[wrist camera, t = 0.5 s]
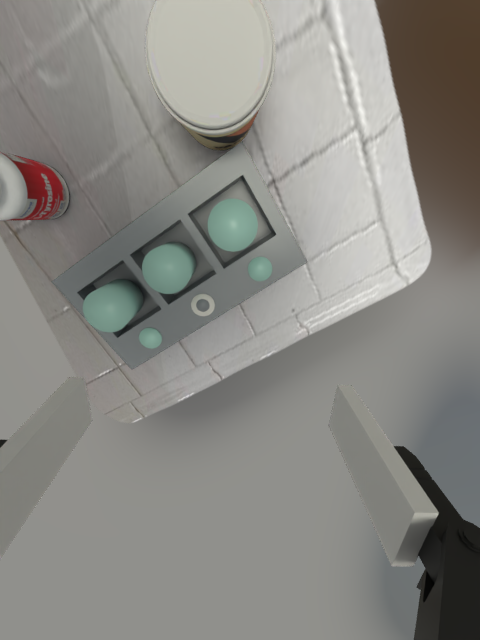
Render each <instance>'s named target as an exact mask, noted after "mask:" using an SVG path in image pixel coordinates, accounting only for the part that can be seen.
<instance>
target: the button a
mask: <svg viewBox="0 0 480 640" xmlns="http://www.w3.org/2000/svg"><path fill="white" fill-rule="evenodd" d="M142 306H143V294H142V292H141V290H140V289H139V287H138V286H137V285H136V284H134V283H133V282H131V281H129V280H126V279H116V280H113V281H111V282H109V283H107V284H106V285H104V286H102V287H100V288H98V289H97V290H95V291H93V292H91V293H90V294H89V295H87V297H86V298H85V300H84V302H83V313H84V316H85V318H86V320H87V321H88V322H89V323H90V324H91V325H92V326H93V327H94V328H96V329H98V330H100V331H103V332H116V331H119V330H121V329H122V328H123V327H124V326H125V325H126V324H127V323H128V322H129V321H130V320H131V319H132V318H133V317H134V316H135V315H136V314H137V313H138V312H139V311H140V310H141V308H142Z"/></svg>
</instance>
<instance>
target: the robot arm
mask: <svg viewBox="0 0 480 640" xmlns="http://www.w3.org/2000/svg"><path fill="white" fill-rule="evenodd" d="M91 422H92V415H91V411H90V404H89V399H88V393H87V388H86V382H85V378H78V377H69V378H68V379H67V380H66V381H65V382H64V383H63V384H62V385H61V386H60V387H59V388H58V389H57V390H56V391H55V392H54V393H53V394H52V396H50V398H49V399H48V400H47V401H46V402H45V403H44V404H43V405H42V406H41V407H40V408H39V409H38V410H37V411H36V412H35V413H34V414H33V415H32V416H31V417H30V418H29V419H28V420H27V421H26V422H25V423H24V424H23V425H22V426H21V427H20V428H19V429H18V430H17V431H16V432H15V433H14V434H13V435H12V436H11V437H10V438H9V439H8V440H0V559H1V558H2V556H3V555H4V553H5V552H6V550H7V549H8V547H9V546H10V544H11V542H12V541H13V540H14V538H15V536H16V535H17V533H18V532H19V530H20V529H21V527H22V526H23V524H24V523H25V521H26V520H27V518H28V517H29V515H30V514H31V512H32V511H33V509H34V508H35V506H36V505H37V503H38V502H39V500H40V499H41V497H42V496H43V494H44V493H45V491H46V490H47V488H48V487H49V485H50V484H51V482H52V481H53V479H54V478H55V476H56V475H57V473H58V472H59V470H60V469H61V467H62V466H63V464H64V463H65V461H66V460H67V458H68V457H69V455H70V454H71V452H72V451H73V449H74V448H75V446H76V445H77V443H78V441H79V440H80V438H81V437H82V436H83V434H84V433H85V431H86V430H87V428H88V427H89V425H90V424H91ZM329 427H330V430H331V432H332V434H333V437H334V439H335V441H336V443H337V445H338V448H339V450H340V452H341V454H342V457H343V459H344V461H345V463H346V466H347V468H348V470H349V472H350V474H351V477H352V479H353V481H354V483H355V486H356V488H357V490H358V492H359V494H360V497H361V499H362V501H363V503H364V505H365V508H366V510H367V512H368V515H369V516H370V519H371V521H372V523H373V525H374V528H375V530H376V532H377V534H378V537H379V539H380V541H381V543H382V546H383V548H384V550H385V552H386V554H387V557H388V559H389V561H390V564H391V565H392V566H414V564H415V562H416V560H417V558H418V556H419V557H420V559H421V561H422V563H423V564H424V566H425V568H426V569H425V571H424V573H423V575H422V577H421V579H420V581H419V583H418V585H417V588H418V589H421V593H420V599H419V607H418V614H417V621H416V628H415V635H414V640H480V528H479V527H477V526H476V525H474V524H473V523H470V522H468V521H465V520H463V519H462V517H461V516H460V515H459V514H458V512H457V511H456V509H455V508H454V507H453V505H452V504H451V503H450V501H449V500H448V499H447V497H446V496H445V495H444V493H443V492H442V491H441V490H440V488H439V487H438V485H437V484H436V483H435V481H434V480H432V478H431V476H430V475H429V473H428V472H427V471H426V470H425V469H424V467H423V465H422V464H421V463H420V461H419V460H418V459H417V457H416V456H415V455H413V454H412V453H411V452H410V451H409V450H407V449H406V448H405V447H403V446H402V447H401V446H393V445H392V444H391V442H390V441H389V439H388V438H387V436H386V435H385V433H384V432H383V430H382V429H381V428H380V426H379V425H378V423H377V422H376V420H375V419H374V417H373V416H372V414H371V413H370V411H369V410H368V409H367V407H366V406H365V404H364V403H363V401H362V400H361V398H360V397H359V395H358V394H357V392H356V391H355V389H354V388H353V387H352V385H337V390H336V394H335V399H334V403H333V408H332V413H331V417H330V422H329Z"/></svg>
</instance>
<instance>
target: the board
mask: <svg viewBox="0 0 480 640" xmlns="http://www.w3.org/2000/svg"><path fill="white" fill-rule="evenodd" d="M226 199H239V200H242V201H244V202H246V203H247V204H248V205H249V206H250V207H251V208H252V209H253V210H254V212H255V214H256V217H257V221H258V229H257V234H256V236H255V238H254V240H253V241H252V243H251V244H250V245H249V246H248V247H246V248H245V249H243V250H240V251H234V252H232V251H226V250H223V249H221V248H220V247H218V246H217V245H216V244H215V243H214V242H213V241H212V239H211V237H210V235H209V232H208V218H209V215H210V213H211V211H212V209H213V208H214V207H215V206H216V205H217V204H218V203H219V202H221V201H223V200H226ZM168 242H180V243H183V244H185V245H186V246H188V247H189V248H190V249H191V250H192V252H193V253H194V255H195V258H196V269H195V272H194V274H193V275H192V277H191V279H190V280H189V282H188V283H187V285H186V286H185V287H184V288H183V289H182V290H180V291H179V292H176V293H173V294H163V293H160V292H157V291H156V290H154V289H152V288H151V287H150V286H149V285H148V284H147V282H146V281H145V279H144V276H143V273H142V264H143V260H144V258H145V256H146V255H147V254H148V253H149V252H150V251H151V250H153V249H154V248H157V247H159V246H161V245H163V244H166V243H168ZM306 262H307V260H306V258H305V256H304V255H303V253H302V251H301V249H300V247H299V245H298V243H297V242H296V240H295V238H294V236H293V234H292V232H291V231H290V229H289V227H288V225H287V223H286V221H285V219H284V218H283V216H282V214H281V212H280V210H279V208H278V206H277V205H276V203H275V201H274V199H273V197H272V195H271V194H270V192H269V190H268V188H267V186H266V184H265V182H264V181H263V179H262V177H261V175H260V173H259V171H258V169H257V168H256V166H255V164H254V162H253V160H252V158H251V157H250V155H249V153H248V151H247V149H246V147H245V145H244V144H243V142H240V143H239V144H238V145H236V146H235V147H234V148H232V149H231V150H230V151H228V152H227V153H225V154H224V155H223V156H221V157H220V158H219V159H217V160H216V161H215V162H213V163H212V164H210V165H209V166H208V167H206V168H205V169H204V170H202V171H201V172H200V173H198V174H197V175H196V176H194V177H193V178H191V179H190V180H189V181H187V182H186V183H185V184H183V185H182V186H181V187H179V188H178V189H177V190H175V191H174V192H172V193H171V194H170V195H168V196H167V197H166V198H164V199H163V200H162V201H160V202H159V203H158V204H156V205H155V206H153V207H152V208H151V209H149V210H148V211H147V212H145V213H144V214H143V215H141V216H140V217H139V218H137V219H136V220H134V221H133V222H132V223H130V224H129V225H128V226H126V227H125V228H124V229H122V230H121V231H120V232H118V233H117V234H115V235H114V236H113V237H111V238H110V239H109V240H107V241H106V242H105V243H103V244H102V245H101V246H99V247H98V248H96V249H95V250H94V251H92V252H91V253H90V254H88V255H87V256H86V257H84V258H83V259H82V260H80V261H79V262H77V263H76V264H75V265H73V266H72V267H71V268H69V269H68V270H67V271H65V272H64V273H63V274H61V275H60V276H58V277H57V278H56V279H54V280H53V281H52V283H53V284H54V285H55V286H56V287H57V288H58V289H59V291H60V292H61V293H62V294H63V295H64V296H65V297H66V298H67V299H68V300H69V301H70V303H71V304H72V305H73V306H74V307H75V308H76V309H77V310H78V311H79V312H80V314H81V315H82V316H83V317H84V318H85V316H84V313H83V302H84V300H85V298H86V297H87V295H89V294H90V293H91V292H93V291H95V290H97V289H98V288H100V287H102V286H104V285H106V284H107V283H109V282H111V281H113V280H116V279H126V280H129V281H131V282H133V283H134V284H136V285H137V286H138V287H139V289H140V290H141V292H142V294H143V306H142V308H141V310H140V311H139V312H138V313H137V314H136V315H135V316H134V317H133V318H132V319H131V320H130V321H129V322H128V323H127V324H126V325H125V326H124V327H123V328H122V329H121V330H119V331H116V332H103V331H100V330H98V329H96V328H94V327H93V326H92V325H91V326H92V327H93V328H94V329H95V330H96V331H97V332H98V333H99V334H100V335H101V337H102V338H103V339H104V340H105V341H106V342H107V343H108V344H109V345H110V346H111V347H112V349H113V350H114V351H115V352H116V353H117V354H118V355H119V356H120V357H121V358H122V359H123V361H124V362H125V363H126V364H127V365H128V366H129V367H130V368H131V369H134V368H136V367H137V366H139V365H140V364H142V363H144V362H145V361H147V360H149V359H150V358H152V357H153V356H155V355H157V354H158V353H160V352H162V351H163V350H165V349H166V348H168V347H170V346H171V345H173V344H175V343H176V342H178V341H180V340H181V339H183V338H184V337H186V336H188V335H189V334H191V333H193V332H194V331H196V330H197V329H199V328H201V327H202V326H204V325H206V324H207V323H209V322H210V321H212V320H214V319H215V318H217V317H219V316H220V315H222V314H223V313H225V312H227V311H228V310H230V309H232V308H233V307H235V306H236V305H238V304H240V303H241V302H243V301H245V300H246V299H248V298H250V297H251V296H253V295H254V294H256V293H258V292H259V291H261V290H263V289H264V288H266V287H267V286H269V285H271V284H272V283H274V282H276V281H277V280H279V279H280V278H282V277H284V276H285V275H287V274H289V273H290V272H292V271H293V270H295V269H297V268H298V267H300V266H302V265H303V264H305V263H306ZM85 319H86V318H85Z"/></svg>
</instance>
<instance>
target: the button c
mask: <svg viewBox="0 0 480 640" xmlns="http://www.w3.org/2000/svg"><path fill="white" fill-rule="evenodd" d="M257 229H258V221H257V217H256V214H255V212H254V210H253V209H252V208H251V207H250V206H249V205H248V204H247V203H246V202H244V201H242V200H239V199H226V200H223V201H221V202H219V203H218V204H217V205H216V206H215V207H214V208H213V209H212V211H211V213H210V215H209V218H208V232H209V235H210V237H211V239H212V241H213V242H214V243H215V244H216V245H217V246H218V247H220V248H221V249H223V250H226V251H232V252H234V251H240V250H243V249H245V248H246V247H248V246H249V245H250V244H251V243H252V241H253V240H254V238H255V236H256V234H257Z"/></svg>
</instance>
